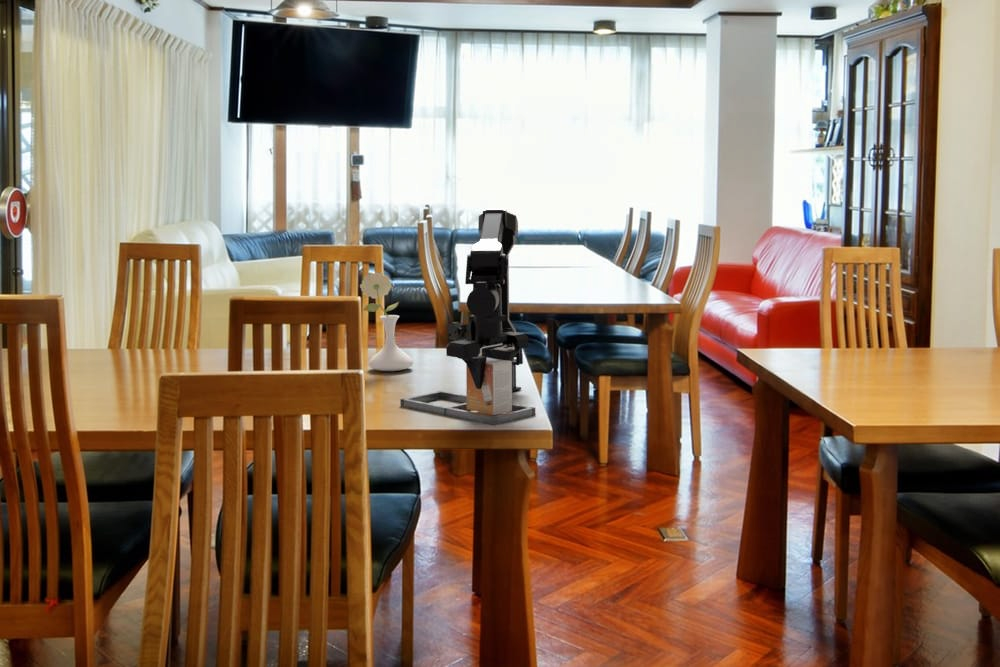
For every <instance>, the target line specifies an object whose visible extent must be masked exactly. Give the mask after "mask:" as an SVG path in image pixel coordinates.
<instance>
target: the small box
mask: <svg viewBox="0 0 1000 667" xmlns="http://www.w3.org/2000/svg"><path fill="white" fill-rule="evenodd" d="M465 364H466V363H465ZM465 368H466V369H465V370H466V373H465V374H466V377H465V378H466V380H465V381H466V384H465V385H466V395H467V409H469V411H473V410H474V411H478V412H482V413H486V414H490V415H497V414H501V413H505V412H510V411H512V404H513V391H512V361H506V360H499V359H493V358H488V357H487V359H486V365H485V372H484V378H483V384H482V387H481V389H477V388H476V386H475V383H474V381H473V378H472V375H471V373H470V370H469V368H468V366H467V364H466V367H465Z"/></svg>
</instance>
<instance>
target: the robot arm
mask: <svg viewBox="0 0 1000 667" xmlns="http://www.w3.org/2000/svg"><path fill="white" fill-rule="evenodd" d="M477 229H478V234H479V236H480V238H479V240H478V242H476V243H474V244H473V245H472V246H471V249H470V252H469V254H467V255H466V256H467V257H466V267H465V268H466V269H465V283H464V284H465V285H472V290H471V292H470V293H468V296H467V299H466V308H467V310H468V311H469V312H470V314H472V315H469V317H468V322H467V323H465V324H461V323H460V322H459V321H456V322H455V321H454V322H451V323H448V325H447V326H448V328H447V333H448V338H449V339H450V340H452V341H449V342H448V343H447V345H445V346H446V348H445V350H446V354H445V355H446V357H450V358H451V357H452V358H457V359H459V360H462V361H463V362H464V363H465V364H467V366H468V368H469V370H470V373H471V375H472V378H473V381H474V383H475V386H476V388H477V389H481V387H482V384H483V378H484V372H485V365H486V359H487V357H488V358H493V359H499V360H506V361H512V392H515V391H520V390H522V387H521V386H517V367H516V366H519V365H523V363H524V356H523V354H524V353H523V349H525V348H529V336H527V334H526V333H524V332H517V329H516V328H515V327H514V324H513V323H512V321H511V319H510V282H509V280H510V268H509V267H510V266H509V262H510V260H509V254H510V253H511V251H512V249H513V247H514V246H515V244H516V237H518V235H519V221H518V217H517V215H516V214H513V213H510V212H508V211H507V209H505V208H497V207H496V208H486V209H483V210H482V213H481V214H479V215H478V228H477ZM453 340H454V341H453Z"/></svg>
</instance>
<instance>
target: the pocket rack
mask: <svg viewBox="0 0 1000 667" xmlns="http://www.w3.org/2000/svg"><path fill="white" fill-rule="evenodd" d="M399 400H400V407H403V408H408V409H414V410H418V411H423V412H427V413H432V414H438V415H443V416H446V417H452V418H457V419H462V420H466V421H472V422H477V423H480V424H481V423H482V424H487V425H490V426H497V425H501V424H504V423H509V422H513V421H516V420H521V419H524V418H525V419H526V418H527V417H528V418H529V417H532V416H536V407H535V406H534V407H533V406H528V405H524V404H523V405H522V404H517V403H512V411H509V412H505V413H501V414H497V415H490V414H486V413H482V412H478V411H474V410H469V409H467V394H463V393H462V394H461V393H458V392H457V393H455V392H451V391H445V390H439V391H433V392H428V393H423V394H419V395H415V396H409V397H405V398H401V399H399ZM437 400H445V401H446V400H447V401H452V402H456V403H457V402H458V403H460V404H456V405H450V406H444V405H438V404H434V403H428V402H432V401H437Z"/></svg>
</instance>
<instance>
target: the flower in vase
mask: <svg viewBox="0 0 1000 667" xmlns="http://www.w3.org/2000/svg"><path fill="white" fill-rule="evenodd" d="M359 288H360V289H361V290H360V291H361V292H362V295H364V296H366V297H367V298H369V297H370V298H371V299H377V303H378V304H377V303H374V302H372V303H371V302H370V303H368V304H367V305H366V306H364V308H363V309H362V311H367V312H370V313H371V312H372V313H374V312H377V311H378V310H379V309H381V310H382V311H383V313H384V314H385V315H380V316H379V318H380V320H381V321H382V323H383V326H384V331H385V343H384V346H383V347H382V348H381V349H380V350H379V351H378V352H377V353H376V354H374V355H373V356H372V357H371V359H370V360H369V362H368V366H369V367H370V368H371V369H373V370H376V371H380V372H381V371H382V372H395V371H396V372H397V371H402V370H407V369H409V368H411V367H412V366H413V365H414V361H413V358H412V357H410V356H409V355H408V354H407V353H406V352H405V351H403V350H402V349H401V348H399V346H398V345H397V344H396V340H395V339H396V338H395V332H396V330H395V329H396V323H397V321H398V319H399V318H400V315H397V314H387V312H390V311H392V310H395V309H396V308H398V305H399V301H397V302H396V303H393V304H391V305H388V306H387V308H386V309H384V308H383V307H382V305H381V303H380V298H383V297H384V296H387V295H389V292H390V291H391V289H393V285H392V281H391V279H390V278H389V275H384V273H383V272H380V273H379V272H378V271H377V272H375V273H372V272H371V273H369V275H365V277H363V280H362V281H361V284H359Z"/></svg>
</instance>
